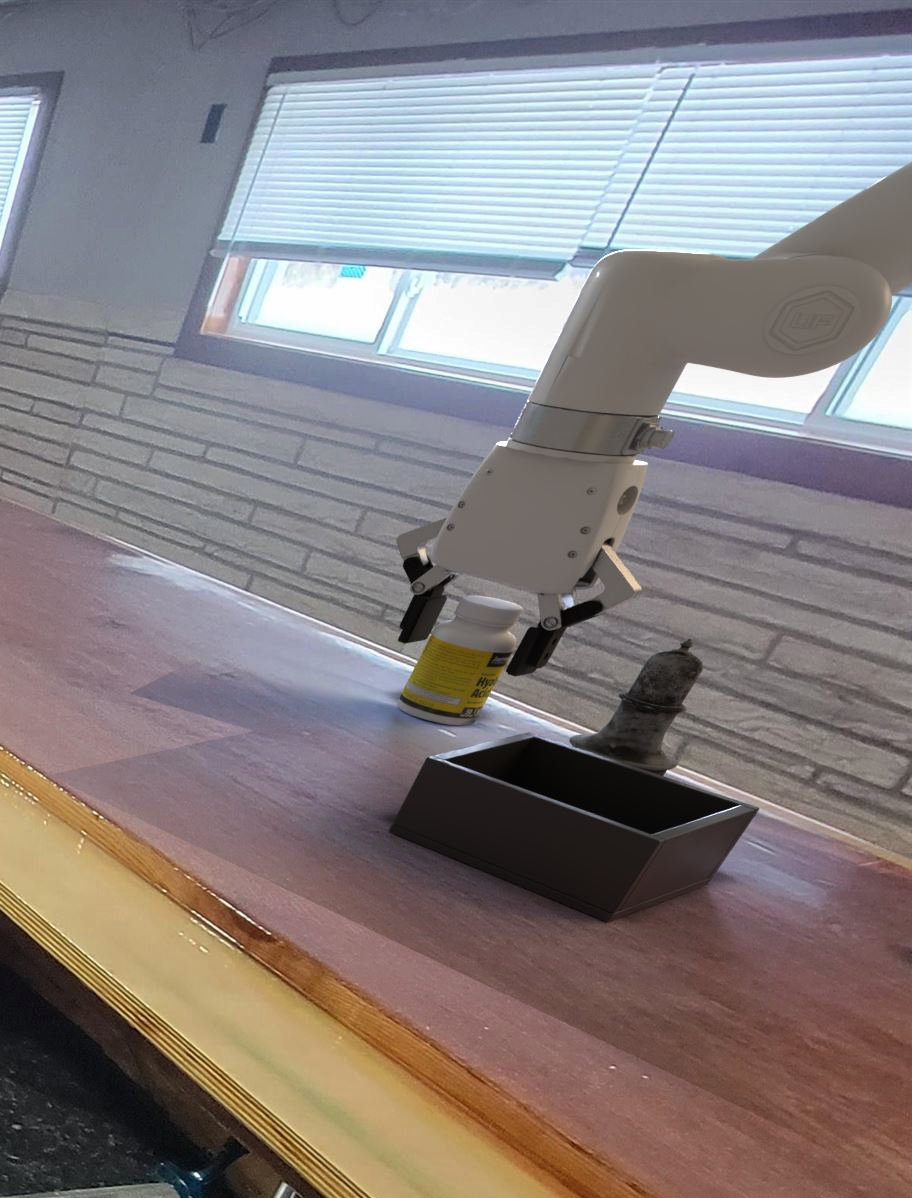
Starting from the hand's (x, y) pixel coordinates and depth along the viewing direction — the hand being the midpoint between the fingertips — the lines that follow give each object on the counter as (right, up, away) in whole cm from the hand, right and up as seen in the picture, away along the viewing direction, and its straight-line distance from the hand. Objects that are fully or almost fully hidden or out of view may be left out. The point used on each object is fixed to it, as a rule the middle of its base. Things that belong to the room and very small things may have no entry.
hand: (464, 655), depth 100 cm
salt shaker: (0, -12, -10) cm, 16 cm away
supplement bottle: (0, -5, +3) cm, 5 cm away
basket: (-13, -17, -20) cm, 29 cm away
